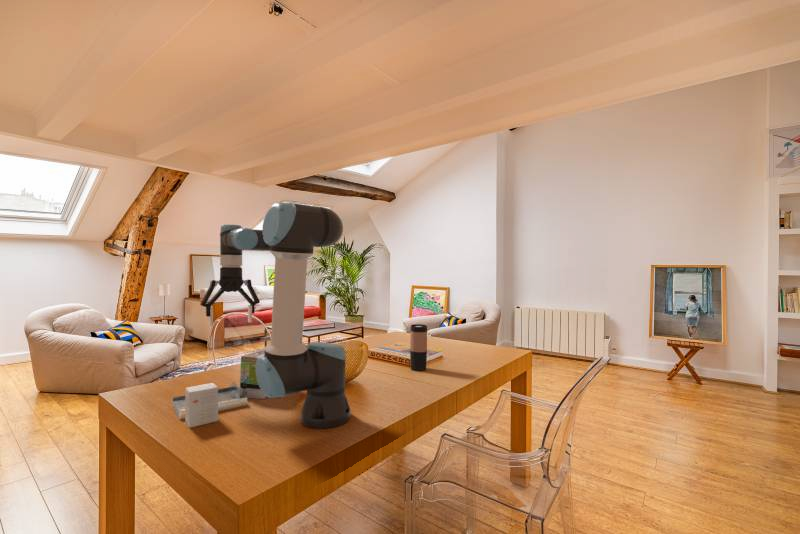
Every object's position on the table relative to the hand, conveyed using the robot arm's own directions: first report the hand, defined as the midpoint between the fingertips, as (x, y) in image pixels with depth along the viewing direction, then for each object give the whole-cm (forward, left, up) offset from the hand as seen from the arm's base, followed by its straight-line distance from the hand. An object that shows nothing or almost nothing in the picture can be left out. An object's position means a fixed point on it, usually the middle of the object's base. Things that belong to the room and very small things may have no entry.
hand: (231, 324), depth 143 cm
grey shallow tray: (-10, +9, -25) cm, 29 cm away
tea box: (-7, -10, -25) cm, 28 cm away
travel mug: (-18, -77, -25) cm, 83 cm away
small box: (-23, +14, -25) cm, 37 cm away
